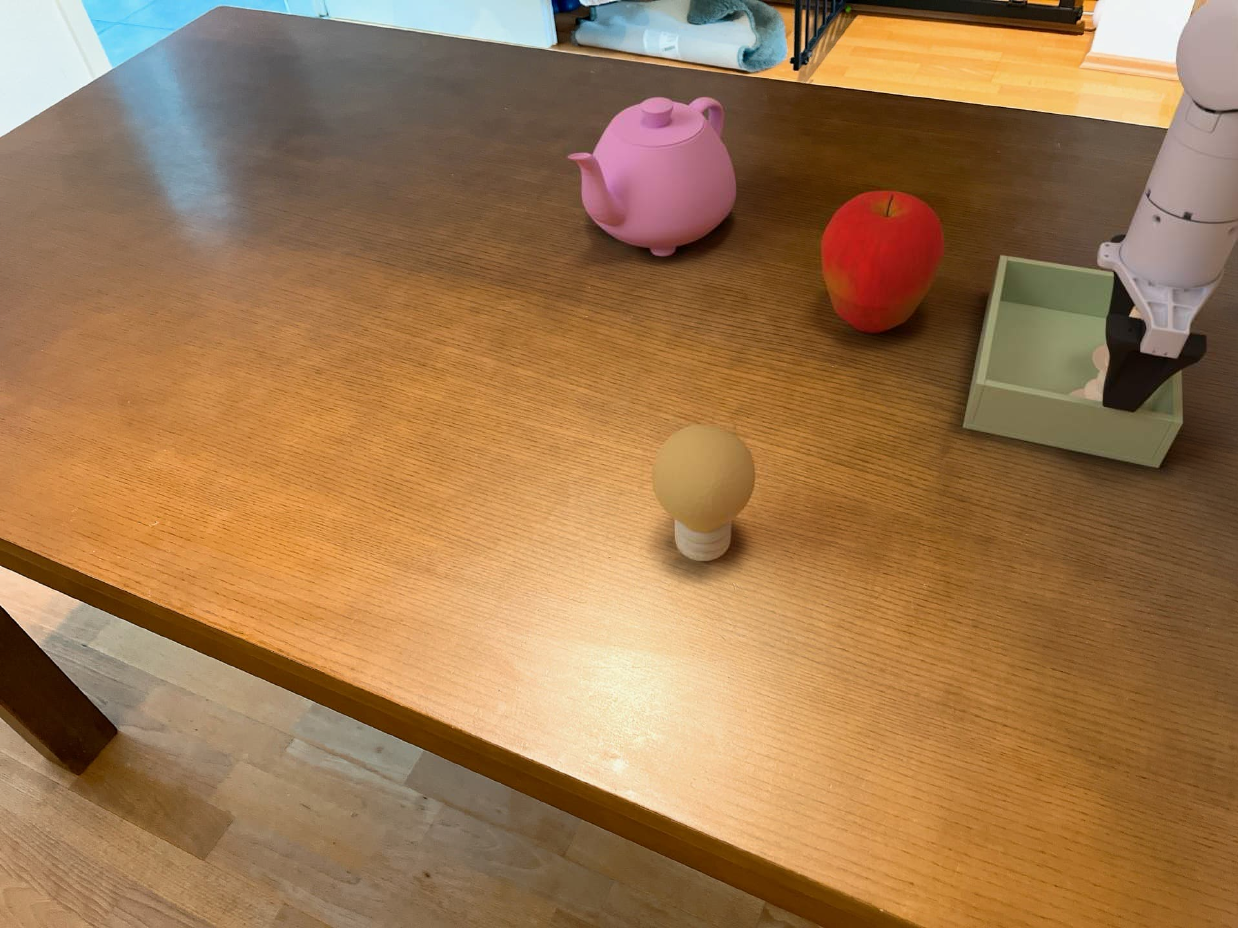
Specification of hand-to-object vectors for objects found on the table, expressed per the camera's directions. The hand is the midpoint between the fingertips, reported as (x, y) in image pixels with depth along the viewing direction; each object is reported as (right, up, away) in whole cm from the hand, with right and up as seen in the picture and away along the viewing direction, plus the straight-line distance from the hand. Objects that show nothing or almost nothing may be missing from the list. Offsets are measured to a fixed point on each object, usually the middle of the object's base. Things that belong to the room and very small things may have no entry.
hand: (1120, 370), depth 64 cm
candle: (0, -3, +3) cm, 5 cm away
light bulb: (-29, -12, -2) cm, 32 cm away
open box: (0, 0, +7) cm, 7 cm away
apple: (-14, +5, +13) cm, 20 cm away
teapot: (-31, +16, +25) cm, 43 cm away
